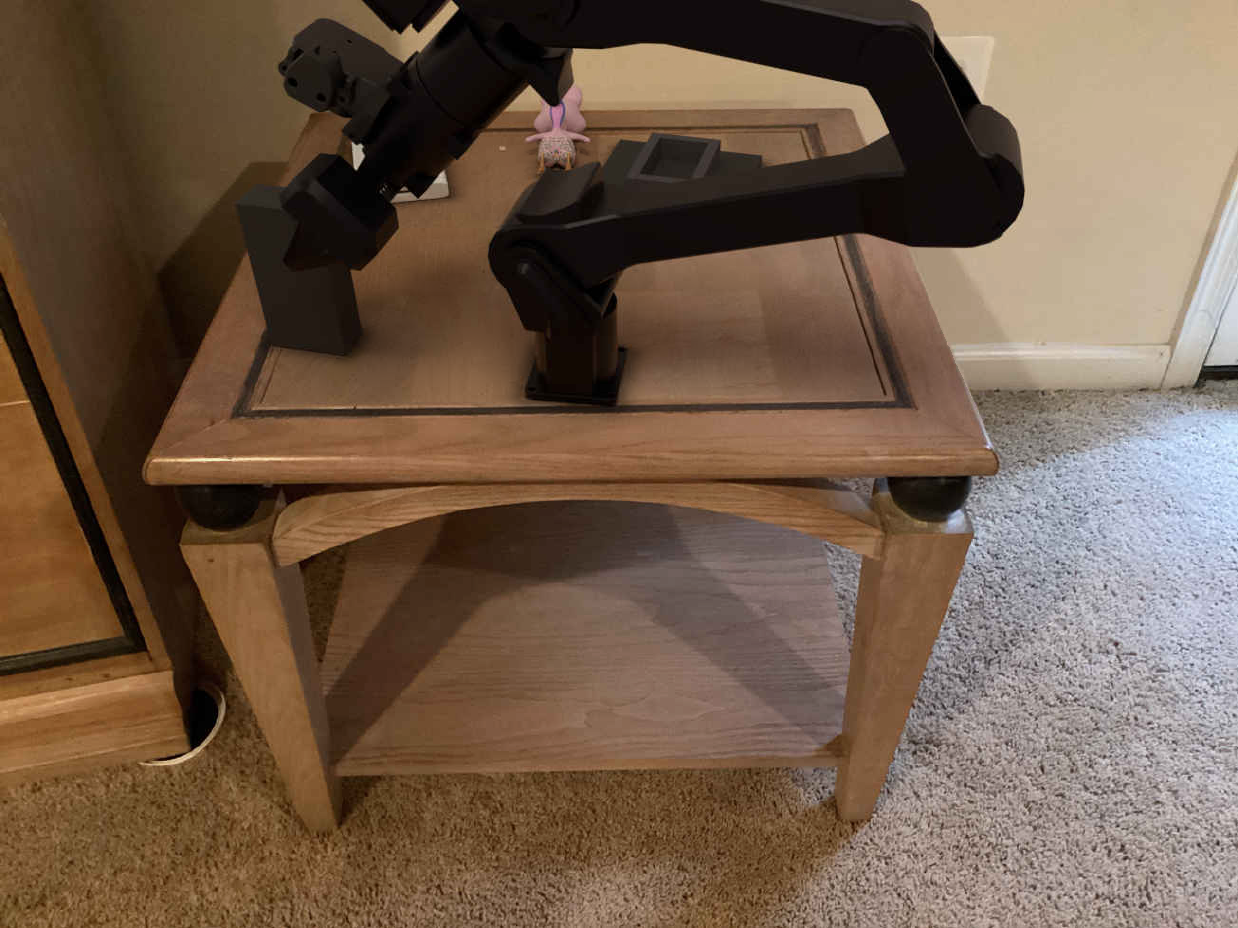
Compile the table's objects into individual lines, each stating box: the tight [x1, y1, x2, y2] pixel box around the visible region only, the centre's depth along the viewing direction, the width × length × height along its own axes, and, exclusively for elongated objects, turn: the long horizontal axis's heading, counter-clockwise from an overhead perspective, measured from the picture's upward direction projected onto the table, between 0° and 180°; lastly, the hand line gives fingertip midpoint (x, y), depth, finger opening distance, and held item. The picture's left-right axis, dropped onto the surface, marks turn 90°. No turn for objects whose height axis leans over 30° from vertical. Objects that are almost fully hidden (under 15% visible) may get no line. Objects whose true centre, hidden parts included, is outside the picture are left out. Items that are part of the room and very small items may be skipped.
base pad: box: [602, 131, 763, 188], centre depth 97 cm, size 14×14×3 cm
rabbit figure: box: [524, 85, 591, 175], centre depth 104 cm, size 6×6×15 cm
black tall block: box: [234, 183, 363, 357], centre depth 76 cm, size 3×6×12 cm, turn 77°
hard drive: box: [351, 141, 450, 204], centre depth 100 cm, size 2×8×12 cm
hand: (319, 232), depth 73 cm, fingers open, 9 cm apart
